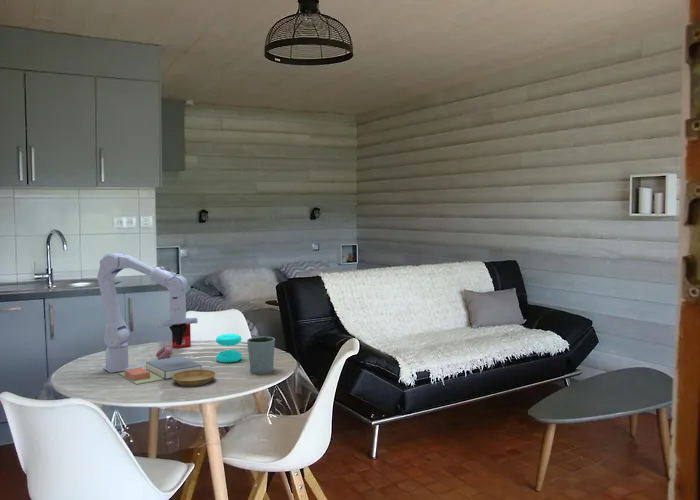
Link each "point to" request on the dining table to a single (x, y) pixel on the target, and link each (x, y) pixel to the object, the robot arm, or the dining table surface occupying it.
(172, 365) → the book deck
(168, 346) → the pink rounded piece
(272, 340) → the grey plant pot
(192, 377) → the plant saucer
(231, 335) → the donuts
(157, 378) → the felt mat
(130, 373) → the card box
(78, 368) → the dining table surface
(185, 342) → the canned food
